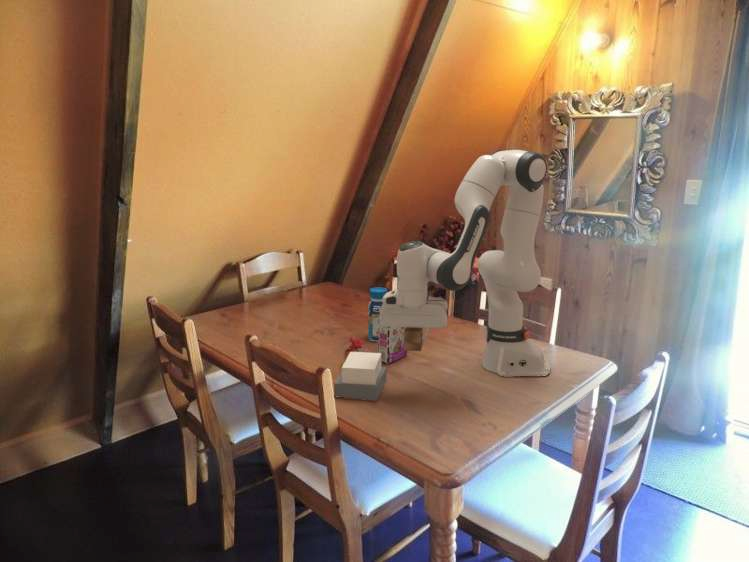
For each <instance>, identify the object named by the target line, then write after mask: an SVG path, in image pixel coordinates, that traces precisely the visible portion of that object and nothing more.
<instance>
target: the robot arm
mask: <svg viewBox="0 0 749 562" xmlns="http://www.w3.org/2000/svg"><path fill="white" fill-rule="evenodd" d="M547 172H548V164H547V161H546V158H545V156H544V155H543V154H540V153H539V152H536V151H532V150H529V151H527V150H522V149H511V150H510V149H508V150H506V149H505V150H502V149H499V150H495V151H492V152H490V153H488V154H483V155H481V156H479V157H478V158H477V159H476V160H475V162H473V164H472V165H471V167H470V168H469V169H468V170H467V172H466V174H465V175H464V177H463V179H462V180H461V183H460V184H459V186H458V188H457V189H456V192H455V196H454V199H453V200H454V205H455V209H456V210H457V212H458V213H459V215H460V216H462V218H463V219H464V229H463V231H462V233H461V236H460V238H459V239H458V240H459V241H458V243H457V246H456V248H455V250H454V251H453V252H452V253H450V252H448V251H447V252H446V251H444V250H440V249H437V248H433V247H430V246H429V245H427V244H425V243H424V242H423V241H418V240H415V241H409V242H405V243H403V244H402V245H400V246H399V248H398V250H397V256H396V275H397V278H398V282H397V286H396V287H397V289H394V290H391V291H387V293H386V294H385V295H384V296H383V299H382V302H383V305H382V306H381V309H380V315H379V323H380V325H381V326H387V327H396V331H397V332H398V334H399V335H400V340H404V333H403V332H402V331H401V328H402V327H416V328H422V329H424V332H425V333H423V334H422V335H421V341H423V342H427V339H428V338H427V336H428V334H429V332H430V330H431V329H444V328H445V327H446V326H447V324H448V317H447V310H448V307H449V306H448V304H449V303H448V301H447V300H446V299H445V298H443V297H442V296H438V297H437V296H436V297H435V296H428V283H429V282H433V283H434V284H437V285H440V286H441V287H443V288H445V289H447V290H449V291H451V292H452V291H453V292H454V291H455V292H456V291H460V290H461V289H463V288H464V287H466V285H467V284H468V283H469V281H471V280H470V279H471V277H472V273H473V269H474V264H475V260H476V257H477V255H478V253H479V250H480V247H481V244H482V242H483V239H484V237H485V234H486V232H487V230H488V227H489V223H490V218H491V214H490V210H491V207H492V204H493V202H494V201H495V198H496V196H497V195H498V193H499V190H500V188H501V186H506V187H509V196H508V198H507V202H506V205H505V209H504V213H503V218H502V222H501V225H500V230H499V231H500V235H501V238H502V240H503V248H504V250H500V249H498V250H497V249H494V250H486V251H485V252H483V253H482V254H481V255H480V256H479V258H478V260H477V270H478V272H479V274H480V276H481V277H482V280H483V283H484V286H485V289H486V290H485V291H486V296H487V301H488V321H487V322H488V324H486V330H485V331H486V332H485V334H486V335H485V340H486V347H485V351H484V357H483V360H482V362H481V365H482V367H483V368H484V370H485V369H486V370H487V371H488V372H491V373H495V374H496V373H497V374H496V375H498V376H500V377H502V376H504V378H516V377H515V376H538V375H539V376H542V375H547V374H549V373H550V374H551V371H550V369H551V365H550V363H549V362H548V360H546V359H545V356H544V352H543V351H542V349H541V347H540V346H538V345H537V344H536V343H535V342H534V341H532V340H531V339H530V338H531V334H530V332H529V330H528V328H527V327H526V326H525V327H524V326H523V320H524V319H523V317H524V316H523V315H524V305H523V301H522V300H521V299H520V297H519V294H518V292H521V293H522V292H525V293H526V292H531V291H533V290H534V289H536V288H537V286H538V285H539V283H540V282H541V279H542V278H541V277H542V271H541V268H540V266H539V265H538V262H537V260H536V252H535V240H536V235H537V234H536V233H537V229H538V225H539V221H540V216H541V212H542V208H543V202H544V190H545V187H544V185H543V182H544V181H545V179H546V177H547ZM546 371H547V372H546ZM550 374H549V375H550ZM513 376H514V377H513Z"/></svg>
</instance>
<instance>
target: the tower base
mask: <svg viewBox="0 0 749 562" xmlns="http://www.w3.org/2000/svg"><path fill="white" fill-rule="evenodd" d="M385 382H387V367H386V366H381V371H380V373H379V376H378V379H377V381H376V384H375V385H365V384H348V383H342V372H341V373H340V374H339V375H338V376H337V379H336V380H335V381H334V382H333V384H334V385H333V389H334V390H333V391H334V393H335V394H334V393H333V394H334V398H336V396H339V397H346V398H345V399H347V398H355V399H354V400H358V399H364V400H363V401H369V400H374V401H373V402H377V401H378V399H379V397H380V395H381V393H382V390H383V389H384V387H385V385H386V383H385ZM384 384H385V385H384ZM382 388H383V389H382Z"/></svg>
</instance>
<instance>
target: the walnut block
mask: <svg viewBox="0 0 749 562" xmlns="http://www.w3.org/2000/svg"><path fill="white" fill-rule="evenodd" d="M423 332H424V331H423V328H416V327H406V328H405V330H404V350H406V351H407V352H408V351H411V352H421V351H422V349H423V344H424V341H421V335H422V334H424V333H423Z"/></svg>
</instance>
